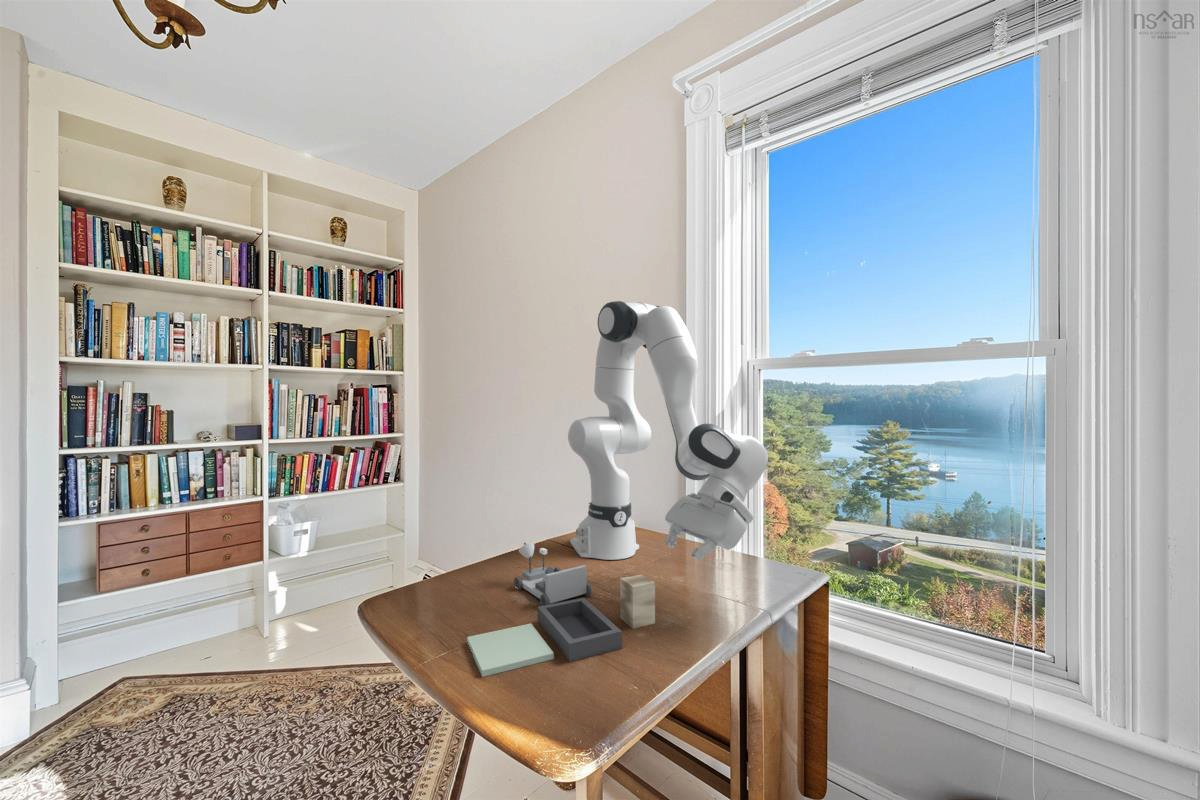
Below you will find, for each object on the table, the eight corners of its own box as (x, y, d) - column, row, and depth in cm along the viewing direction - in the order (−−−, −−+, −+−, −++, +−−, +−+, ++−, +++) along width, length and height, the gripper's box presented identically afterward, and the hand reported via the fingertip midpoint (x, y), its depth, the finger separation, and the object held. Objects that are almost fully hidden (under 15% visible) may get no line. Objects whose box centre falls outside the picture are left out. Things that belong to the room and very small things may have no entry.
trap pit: (537, 622, 94) (537, 606, 94) (583, 612, 99) (583, 597, 99) (569, 661, 80) (569, 643, 80) (621, 648, 85) (621, 631, 85)
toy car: (508, 543, 114) (550, 535, 121) (508, 584, 114) (550, 574, 121) (546, 564, 100) (592, 554, 107) (546, 611, 100) (592, 598, 107)
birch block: (620, 618, 96) (620, 578, 96) (641, 613, 99) (641, 574, 99) (632, 628, 92) (633, 586, 92) (654, 623, 94) (655, 582, 94)
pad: (467, 642, 86) (467, 637, 86) (531, 628, 92) (531, 623, 92) (482, 677, 76) (482, 670, 76) (553, 658, 81) (553, 653, 81)
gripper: (681, 483, 113) (645, 530, 108) (743, 499, 94) (703, 556, 90) (696, 500, 115) (662, 547, 110) (760, 519, 96) (722, 576, 92)
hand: (681, 551), depth 100 cm, fingers open, 8 cm apart
